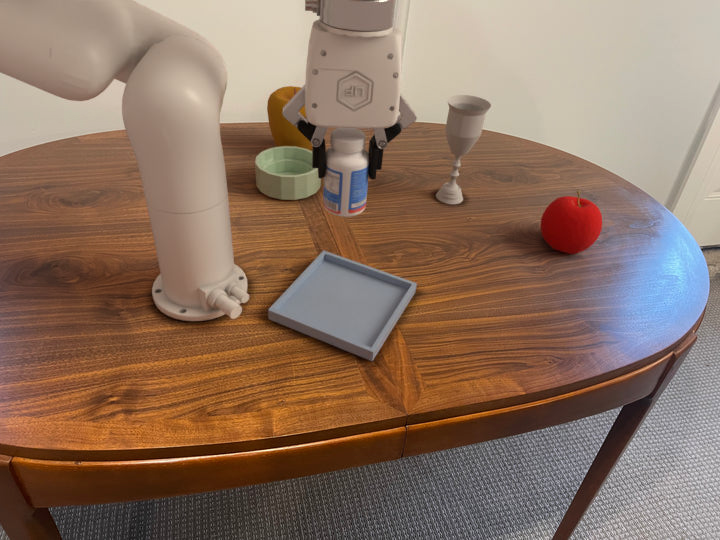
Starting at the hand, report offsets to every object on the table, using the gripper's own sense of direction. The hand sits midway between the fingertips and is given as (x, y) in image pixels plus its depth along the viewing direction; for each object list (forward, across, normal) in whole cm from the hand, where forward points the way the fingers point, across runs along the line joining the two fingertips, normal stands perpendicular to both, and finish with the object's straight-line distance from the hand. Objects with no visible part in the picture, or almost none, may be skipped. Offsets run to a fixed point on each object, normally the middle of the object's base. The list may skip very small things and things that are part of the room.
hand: (346, 172), depth 65 cm
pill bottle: (+5, 0, 0) cm, 5 cm away
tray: (+19, +1, -3) cm, 19 cm away
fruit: (+19, +38, +11) cm, 44 cm away
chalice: (+19, +22, +26) cm, 40 cm away
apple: (+19, -6, +44) cm, 48 cm away
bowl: (+19, -7, +30) cm, 36 cm away
